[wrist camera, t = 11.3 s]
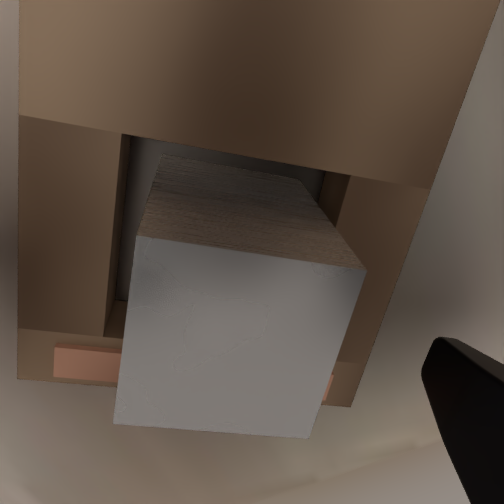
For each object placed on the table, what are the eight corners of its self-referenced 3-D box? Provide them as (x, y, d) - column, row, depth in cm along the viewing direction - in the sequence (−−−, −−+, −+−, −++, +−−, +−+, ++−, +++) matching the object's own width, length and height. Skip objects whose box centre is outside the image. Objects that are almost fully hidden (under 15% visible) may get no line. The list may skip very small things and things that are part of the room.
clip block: (298, 179, 14) (367, 270, 8) (268, 296, 15) (308, 438, 10) (162, 153, 13) (136, 235, 7) (144, 279, 14) (112, 423, 9)
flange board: (489, -99, 11) (553, -130, 9) (333, 367, 16) (352, 411, 14) (55, -236, 9) (16, -312, 7) (39, 337, 15) (14, 383, 13)
